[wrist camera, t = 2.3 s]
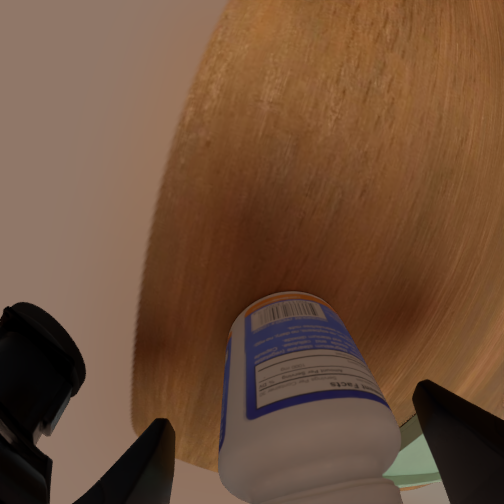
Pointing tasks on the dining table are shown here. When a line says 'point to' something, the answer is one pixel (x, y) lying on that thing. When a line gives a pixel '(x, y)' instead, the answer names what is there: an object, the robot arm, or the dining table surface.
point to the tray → (413, 459)
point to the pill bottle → (302, 410)
